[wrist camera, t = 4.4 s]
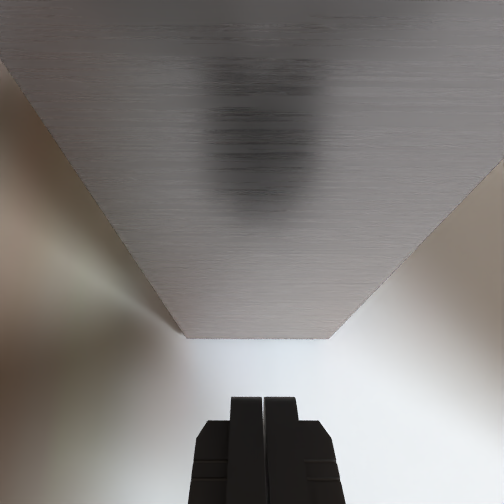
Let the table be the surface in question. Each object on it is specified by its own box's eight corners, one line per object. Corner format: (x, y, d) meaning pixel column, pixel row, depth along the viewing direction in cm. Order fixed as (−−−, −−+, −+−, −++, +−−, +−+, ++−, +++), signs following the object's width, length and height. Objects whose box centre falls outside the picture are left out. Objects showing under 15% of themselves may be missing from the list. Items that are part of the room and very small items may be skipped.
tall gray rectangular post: (370, 339, 16) (928, -45, 3) (144, 338, 16) (-319, -63, 3) (341, 20, 21) (492, -616, 8) (171, 18, 21) (55, -630, 8)
